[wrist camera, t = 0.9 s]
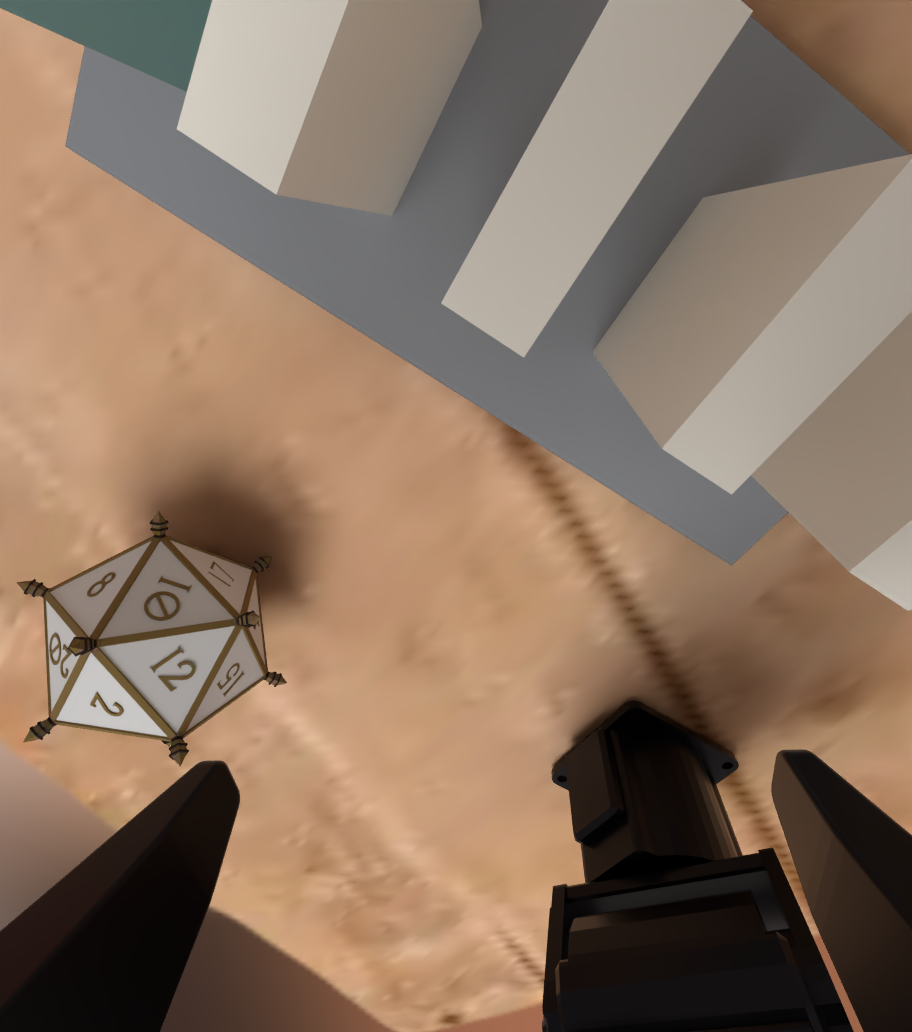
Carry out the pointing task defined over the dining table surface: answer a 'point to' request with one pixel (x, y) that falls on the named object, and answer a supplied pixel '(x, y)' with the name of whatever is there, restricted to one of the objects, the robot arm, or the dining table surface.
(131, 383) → the dining table surface
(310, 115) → the domino
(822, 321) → the domino
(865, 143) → the slate mat
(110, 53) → the domino
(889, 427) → the domino
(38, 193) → the dining table surface
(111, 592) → the game die
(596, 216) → the domino
